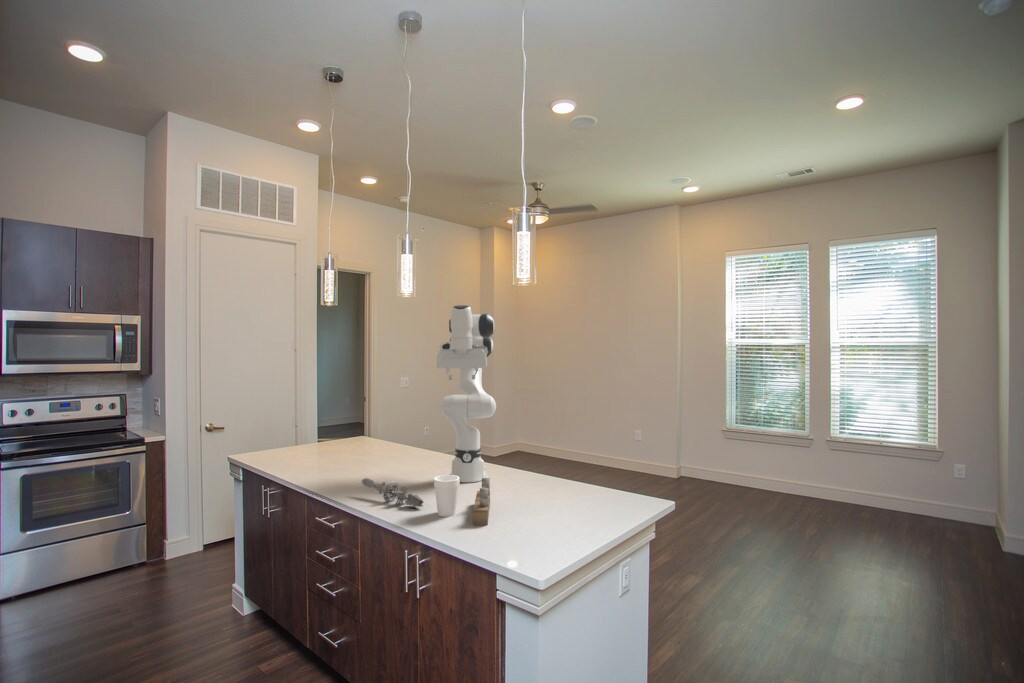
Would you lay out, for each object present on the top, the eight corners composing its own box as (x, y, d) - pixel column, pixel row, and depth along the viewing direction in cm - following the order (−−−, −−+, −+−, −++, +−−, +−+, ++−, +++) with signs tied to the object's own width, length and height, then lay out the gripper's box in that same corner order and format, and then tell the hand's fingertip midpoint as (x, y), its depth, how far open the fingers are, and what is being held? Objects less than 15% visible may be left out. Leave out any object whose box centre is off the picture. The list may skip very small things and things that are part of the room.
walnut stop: (477, 503, 199) (477, 475, 199) (490, 503, 199) (490, 475, 199) (473, 525, 175) (473, 492, 175) (487, 525, 175) (487, 492, 175)
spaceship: (372, 472, 215) (358, 469, 209) (432, 495, 195) (419, 491, 189) (365, 491, 213) (351, 488, 207) (425, 516, 193) (412, 513, 187)
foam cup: (464, 512, 188) (464, 477, 188) (449, 519, 180) (449, 482, 180) (444, 508, 193) (444, 473, 193) (428, 515, 185) (428, 479, 185)
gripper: (488, 344, 208) (488, 378, 208) (438, 345, 208) (438, 379, 208) (487, 344, 202) (487, 379, 202) (435, 345, 202) (435, 380, 202)
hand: (462, 379), depth 205 cm, fingers open, 8 cm apart
